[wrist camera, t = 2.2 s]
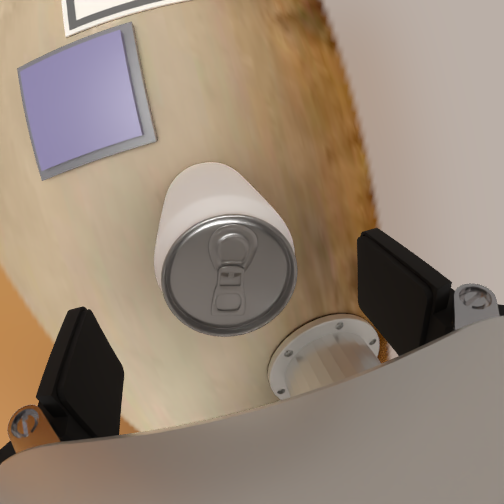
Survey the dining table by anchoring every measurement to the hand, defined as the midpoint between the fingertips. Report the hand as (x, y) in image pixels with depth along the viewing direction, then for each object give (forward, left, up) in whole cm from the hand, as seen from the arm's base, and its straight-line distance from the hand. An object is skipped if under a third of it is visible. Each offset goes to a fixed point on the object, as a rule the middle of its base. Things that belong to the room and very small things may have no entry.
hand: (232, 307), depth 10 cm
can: (-1, 0, -15) cm, 15 cm away
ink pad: (+11, -2, -15) cm, 19 cm away
